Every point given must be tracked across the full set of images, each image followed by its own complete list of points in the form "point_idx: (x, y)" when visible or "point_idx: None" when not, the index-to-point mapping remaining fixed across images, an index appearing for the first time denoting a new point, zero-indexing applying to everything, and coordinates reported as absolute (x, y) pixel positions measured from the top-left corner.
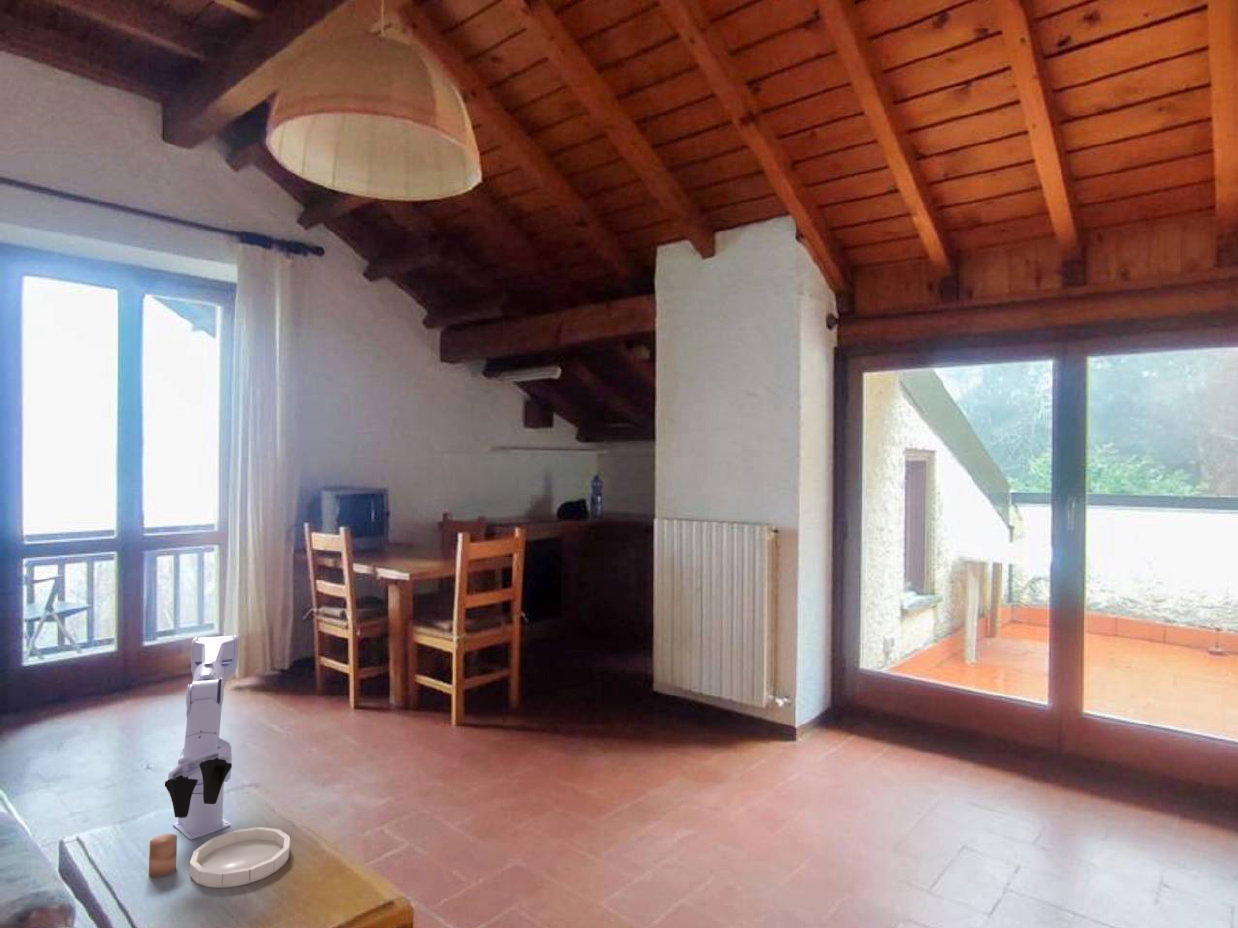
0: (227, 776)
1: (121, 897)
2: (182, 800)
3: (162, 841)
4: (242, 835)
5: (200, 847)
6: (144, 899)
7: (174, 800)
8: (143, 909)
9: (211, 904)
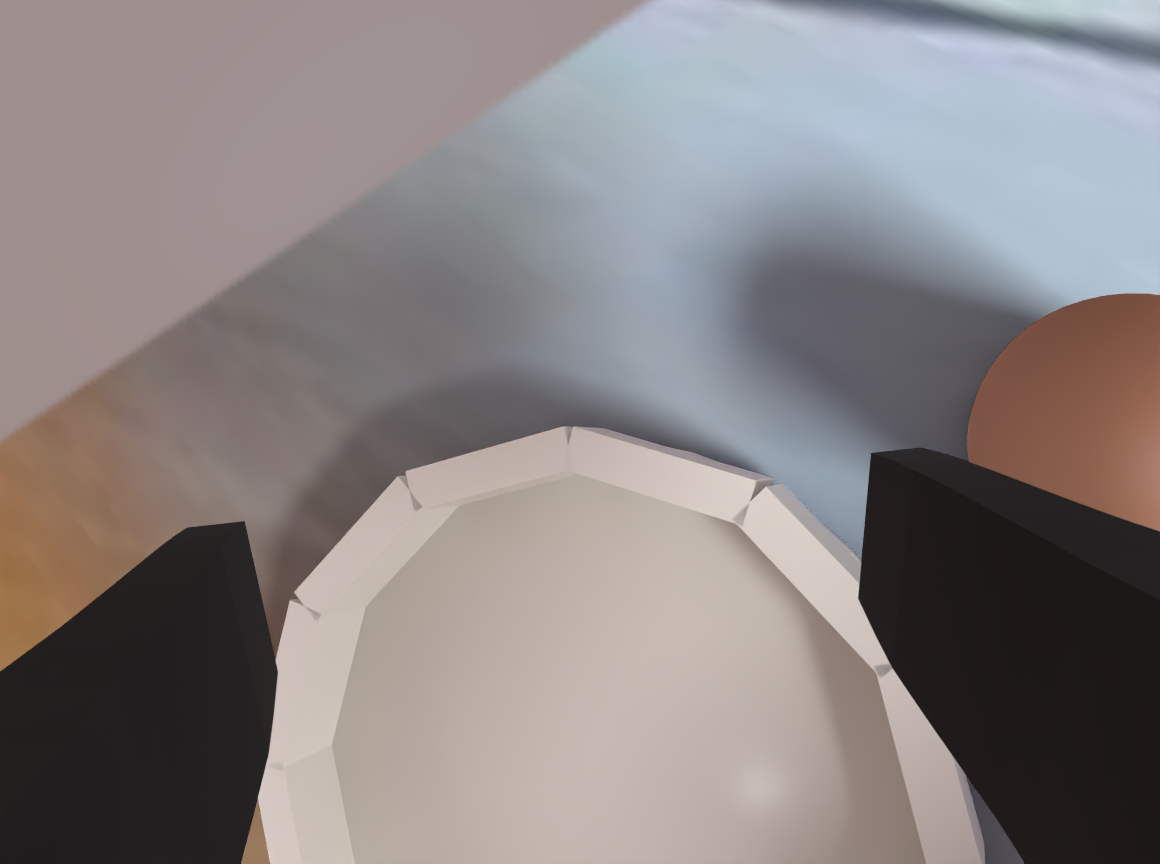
0: None
1: (1012, 57)
2: (1011, 671)
3: (1090, 404)
4: None
5: (922, 718)
6: (818, 141)
7: (1074, 535)
8: (707, 74)
9: (389, 333)
